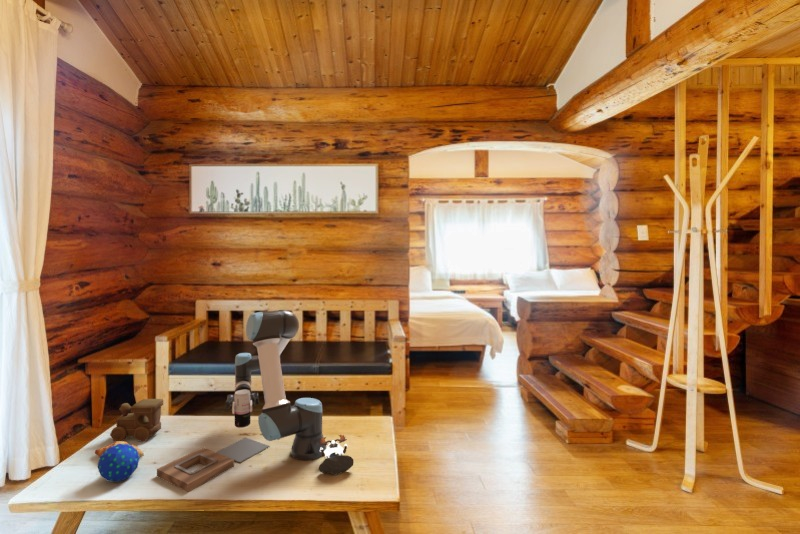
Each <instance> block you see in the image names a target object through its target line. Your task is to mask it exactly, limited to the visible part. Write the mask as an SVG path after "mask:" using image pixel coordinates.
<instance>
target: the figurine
mask: <svg viewBox="0 0 800 534" xmlns="http://www.w3.org/2000/svg"><path fill="white" fill-rule="evenodd" d="M338 436H339V437H340V438H336V439H333V440H327V441H326V439H327V436H325V437H324V436H323V437H324V438H321V440H320V442H321V443H319V444H320V445H326V450H324V452H323V448H322V447H321V448H322V449H321V448H320V452H321V453H322V456H321V457H323V458H324V460H323V462H322V463H320V465H318V466H319V467H318V471H319V472H320V473H322V474H331V475H334V476H335V475H340V474H343V473H345V472H347V471H348V470H350V469H351V468H352V467H353V466H354V463H355V462H354V459H353V458H352V456H351V455H350V456H349V455H346V453H347V449H348V447H349V446H348V445H347V443H345V444H344V445H343V446H344V447H343V446H341V443H344V442H346V441H347V438H346V436H345V435H344V434H338Z"/></svg>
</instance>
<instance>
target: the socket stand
mask: <svg viewBox="0 0 800 534" xmlns="http://www.w3.org/2000/svg"><path fill="white" fill-rule="evenodd" d="M216 452H217V451H213V450H211V449H209V448H206V447H204V446H203V447H201V448H199V449H197V450H194V451H192V452H190V453H188V454H186V455H183V456H182V457H179V458H177V459H175V460H173V461H171V462H169V463H166V464H164V465H162V466H160V467H158V468H156V477H157V476H158V477H157V478H159V477H160V478H159V479H161V478H162V479H161V480H163V479H164V481H165V480H166V482H167V481H168V482H167V483H169V482H170V483H169V484H171V483H172V485H174V486H175V487H177V488H179V489H181V490H183V491H186V492H191V491H192V490H195V489H196V488H199V487H200V486H201V485H203V484H205V483H207V482H209V481H211V480H212V479H215V478H216V477H218V476H220V475H222V474H224V473H225V472H227V471H229V470H230V469H233V468H235V467H234V466H235V461H234V459H231V458H229V457H226V456H224V455H221V454H219V453H216ZM198 464H202V465H203V466H202V467H199V468H197V469H196V470H193V471H191V470H189V469H190V468H192V467H194V466H196V465H198Z"/></svg>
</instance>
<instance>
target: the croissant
mask: <svg viewBox="0 0 800 534" xmlns="http://www.w3.org/2000/svg"><path fill="white" fill-rule="evenodd" d="M117 444H129V443H128V442H127V441H125V440H123V441H114V442H113V443H111V444H108V445H107V446H104V447H99V448H97V449H95V450H94V454H95V455H96V456H98V457H99V458H100V456H101V455H102V454H103V453H104V452H105V451H106V449H108V448H110V447H112V446H115V445H117ZM130 445H131V446H133V447H134V448H136V449H137V452H138V454H139V459H141V458H142V457H144V452H143V451H142V449H140V448H138V446H137V445H135V444H130ZM99 458H98V459H99Z"/></svg>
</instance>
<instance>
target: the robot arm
mask: <svg viewBox="0 0 800 534" xmlns="http://www.w3.org/2000/svg"><path fill="white" fill-rule="evenodd" d="M299 328H300V323H299V319H298V317H297V316H296V314H294V313H293V312H292V311H289V310H287V309H279V310H266V311H258V312H253V313H251V314H250V315H249V316H248V318H247V321H246V328H245V332H246V333H245V334H246V337H247V339H248V341H252V345H253V346H254V347H256V350H257V354H258V355H257V354H256V355H252V354H251V353H250V352H239V353H238V354H236V355H235V358H234V373H235V375H234V376H235V378H234V379H235V381H234V382H235V384H234V393H235V392H236V391H238V390H243V389H246V390H250V413H252V412H253V408H254V407H256V405H259V404H260V398H259V391H255V392H253V391H252V372H256V371H260V377H261V378H260V379H261V383H262V391H263V398H264V405H263V406H262V408H261V413H260V414H259V415H258V427H259V430H260V431H259V432H261V435H262V437H263V438H264V439H265V441H268V442H272V441H277V440H278V441H279V440H280V439H284V438H287V437H290V436H293V435H294V439H293V441H292V444H291V448H290V449H291V450H290V454H291V456H292V457H293V458H294V459H296V460H299V461H311V460H315V459H319V458H321V457H322V453H321V452H320V448H321V447H322V448H323V452H324V450H326V448H327V445H320V444H319V443H321V442H320V440H321V438H324V434H323V404H322V402H321V401H320V400H319V399H317V398H313V397H312V398H311V397H301V398H298V399H296V400H295V402H294V404H293V405H292V404H291V401H290V400H288V399H287V397H286V390H285V385H284V378H283V372H282V365H281V354H282V352H283V351H284V350H285V348H286V346H287V345H288V343H289V342H290V341H291V339H293V338H294V337H296V335H297V334H298V332H299ZM226 397H227V399H226V400H225V408H226V409H227V408H228V409H229V410H231V411H232V415H235V402H234V394H227V396H226ZM322 448H321V449H322Z"/></svg>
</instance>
